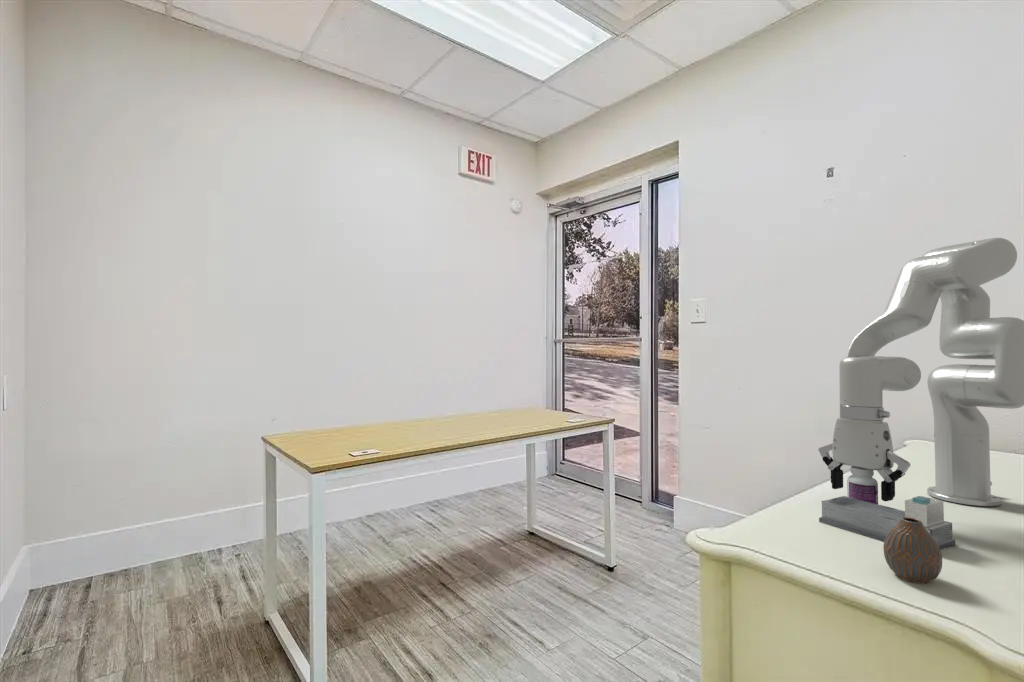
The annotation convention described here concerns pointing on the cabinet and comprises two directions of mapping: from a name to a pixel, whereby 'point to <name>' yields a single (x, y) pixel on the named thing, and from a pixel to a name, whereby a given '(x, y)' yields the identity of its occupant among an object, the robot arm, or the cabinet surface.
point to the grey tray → (887, 517)
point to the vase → (912, 552)
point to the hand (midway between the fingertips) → (861, 494)
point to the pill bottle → (862, 485)
